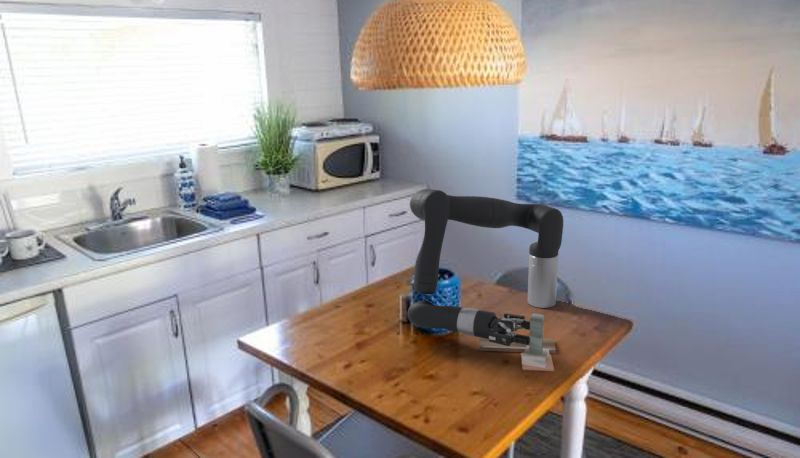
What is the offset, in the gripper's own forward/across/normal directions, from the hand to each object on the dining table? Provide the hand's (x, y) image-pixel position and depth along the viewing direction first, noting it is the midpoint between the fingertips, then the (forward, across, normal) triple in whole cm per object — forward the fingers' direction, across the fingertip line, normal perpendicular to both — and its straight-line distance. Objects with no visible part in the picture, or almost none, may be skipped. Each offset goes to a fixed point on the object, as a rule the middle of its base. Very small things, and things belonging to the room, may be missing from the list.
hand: (534, 334), depth 151 cm
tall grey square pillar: (+1, 0, +8) cm, 8 cm away
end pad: (+1, 0, +8) cm, 8 cm away
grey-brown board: (-7, +7, +8) cm, 13 cm away
